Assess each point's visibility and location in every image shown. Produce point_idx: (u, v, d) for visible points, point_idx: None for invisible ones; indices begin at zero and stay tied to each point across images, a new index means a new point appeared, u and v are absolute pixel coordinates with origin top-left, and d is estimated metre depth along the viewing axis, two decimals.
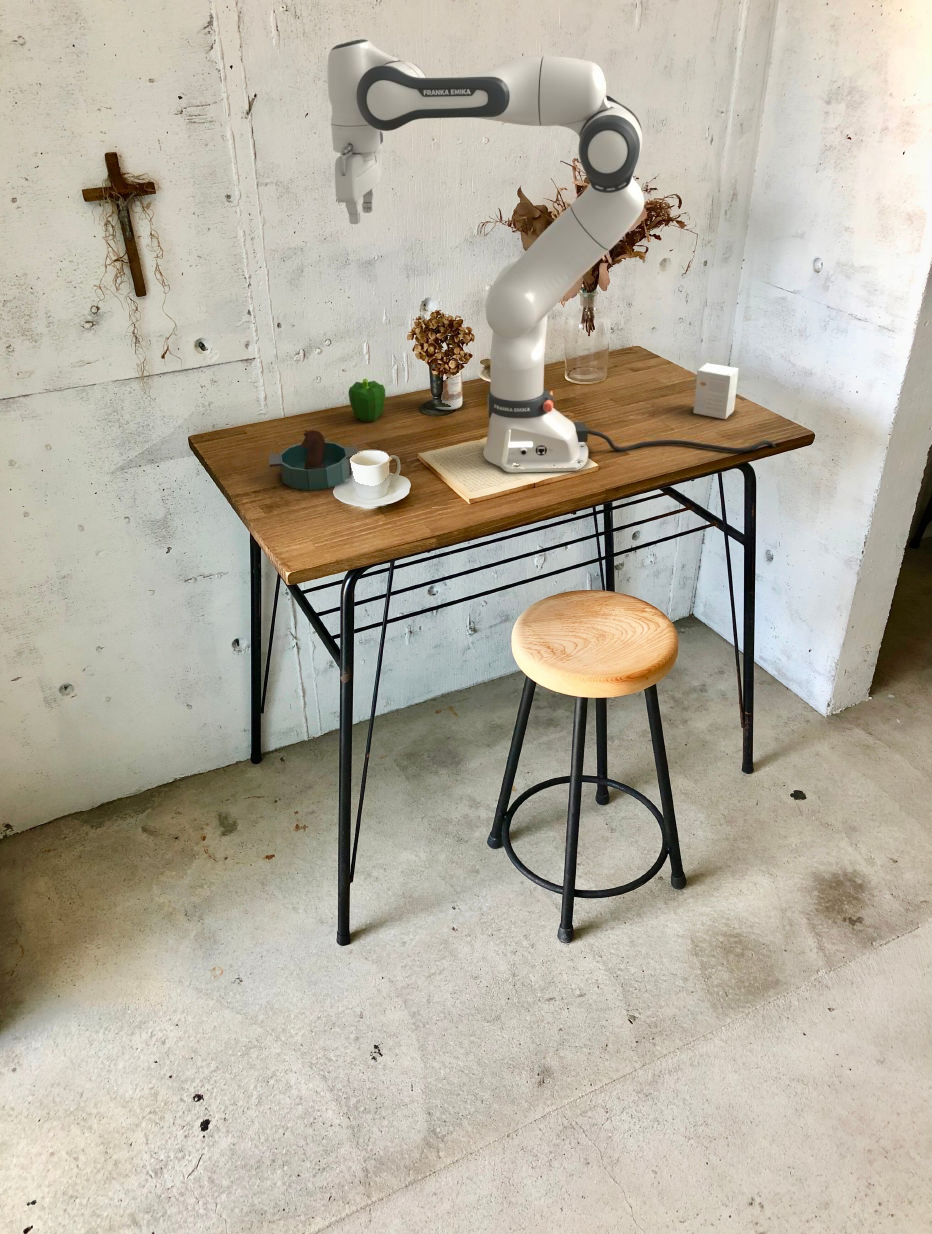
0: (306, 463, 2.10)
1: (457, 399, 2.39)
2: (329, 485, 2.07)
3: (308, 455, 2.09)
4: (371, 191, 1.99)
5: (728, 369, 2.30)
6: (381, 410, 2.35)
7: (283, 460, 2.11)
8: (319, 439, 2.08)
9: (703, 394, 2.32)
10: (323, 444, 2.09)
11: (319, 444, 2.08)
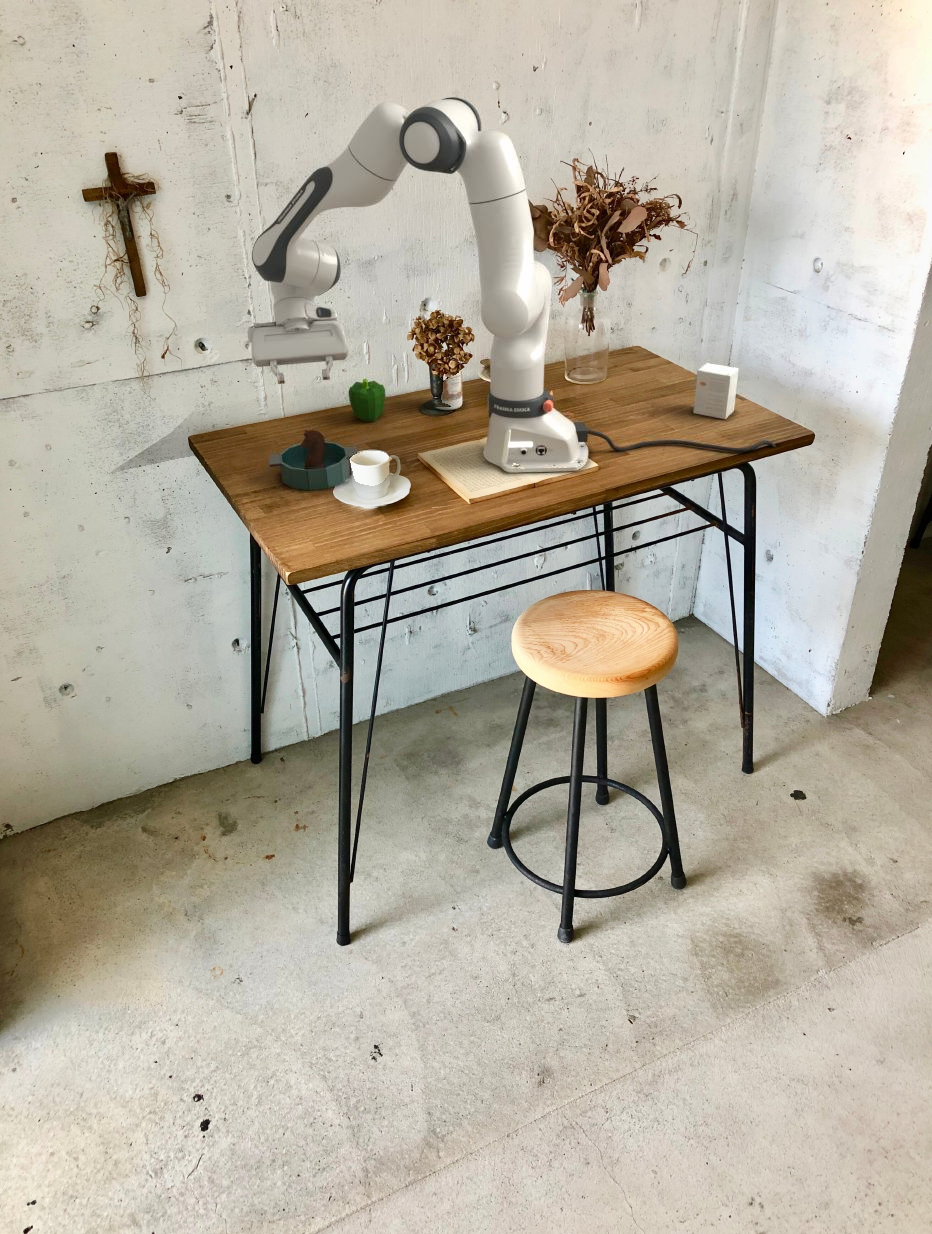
0: (306, 463, 2.10)
1: (457, 399, 2.39)
2: (329, 485, 2.07)
3: (308, 455, 2.09)
4: (326, 360, 2.14)
5: (728, 369, 2.30)
6: (381, 410, 2.35)
7: (283, 460, 2.11)
8: (319, 439, 2.08)
9: (703, 394, 2.32)
10: (323, 444, 2.09)
11: (319, 444, 2.08)
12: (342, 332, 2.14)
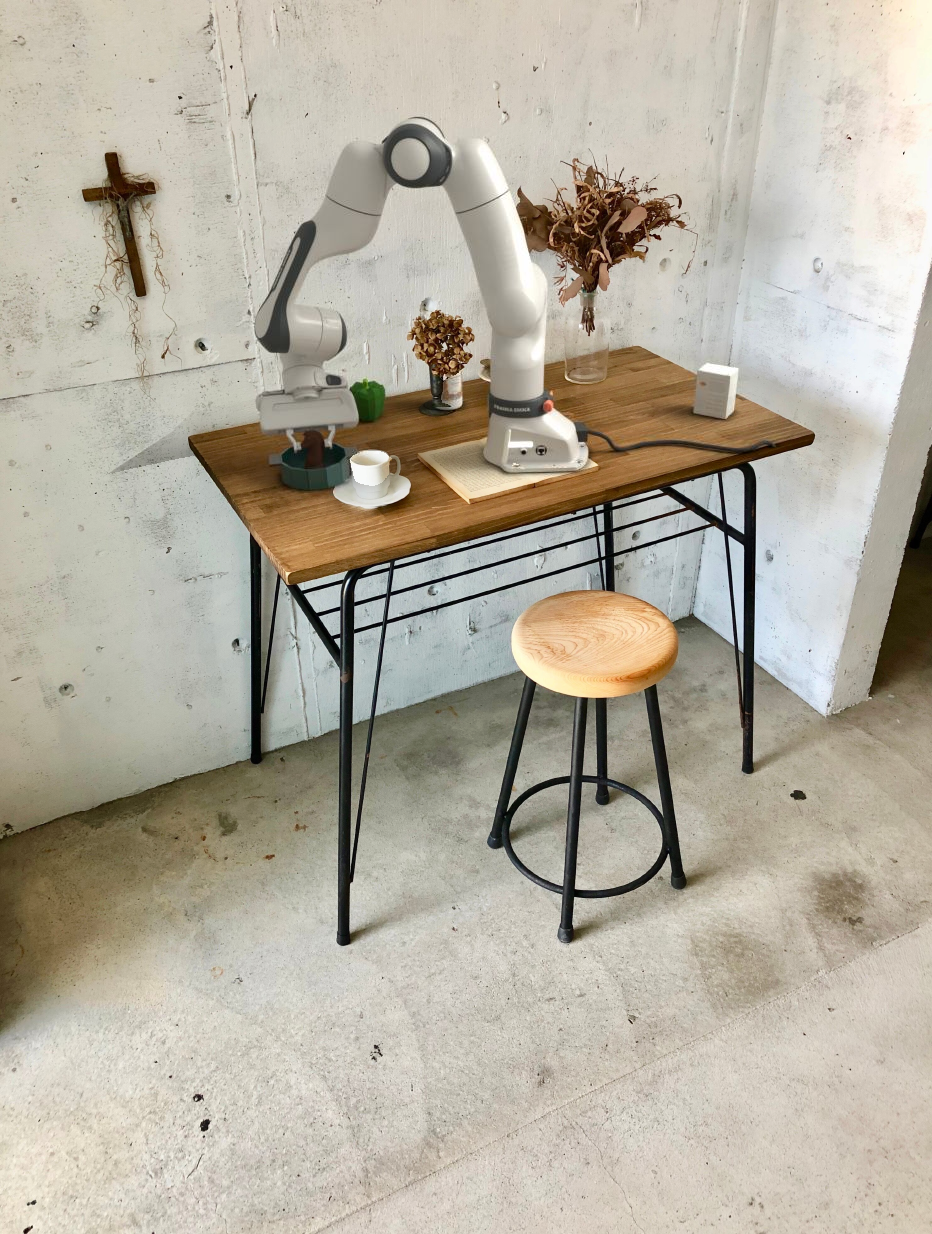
0: (306, 463, 2.10)
1: (457, 399, 2.39)
2: (329, 485, 2.07)
3: (308, 455, 2.09)
4: (328, 429, 2.09)
5: (728, 369, 2.30)
6: (381, 410, 2.35)
7: (283, 460, 2.11)
8: (319, 439, 2.08)
9: (703, 394, 2.32)
10: (323, 444, 2.09)
11: (319, 444, 2.08)
12: (352, 400, 2.09)
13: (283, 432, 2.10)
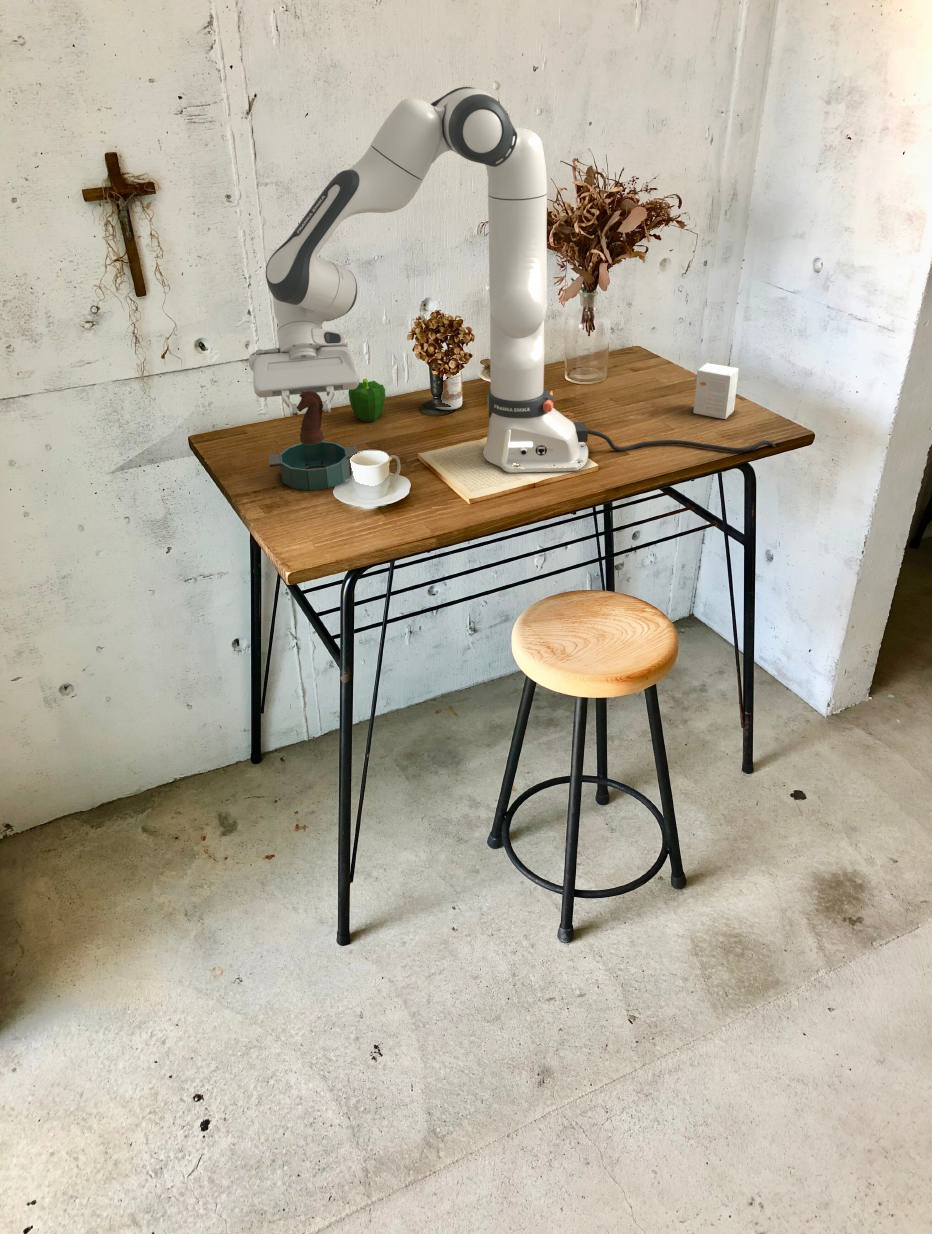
0: (303, 427, 1.95)
1: (457, 399, 2.39)
2: (329, 485, 2.07)
3: (305, 418, 1.95)
4: (327, 390, 1.95)
5: (728, 369, 2.30)
6: (381, 410, 2.35)
7: (283, 460, 2.11)
8: (316, 401, 1.94)
9: (703, 394, 2.32)
10: (321, 406, 1.95)
11: (316, 406, 1.94)
12: (353, 359, 1.95)
13: (278, 394, 1.95)
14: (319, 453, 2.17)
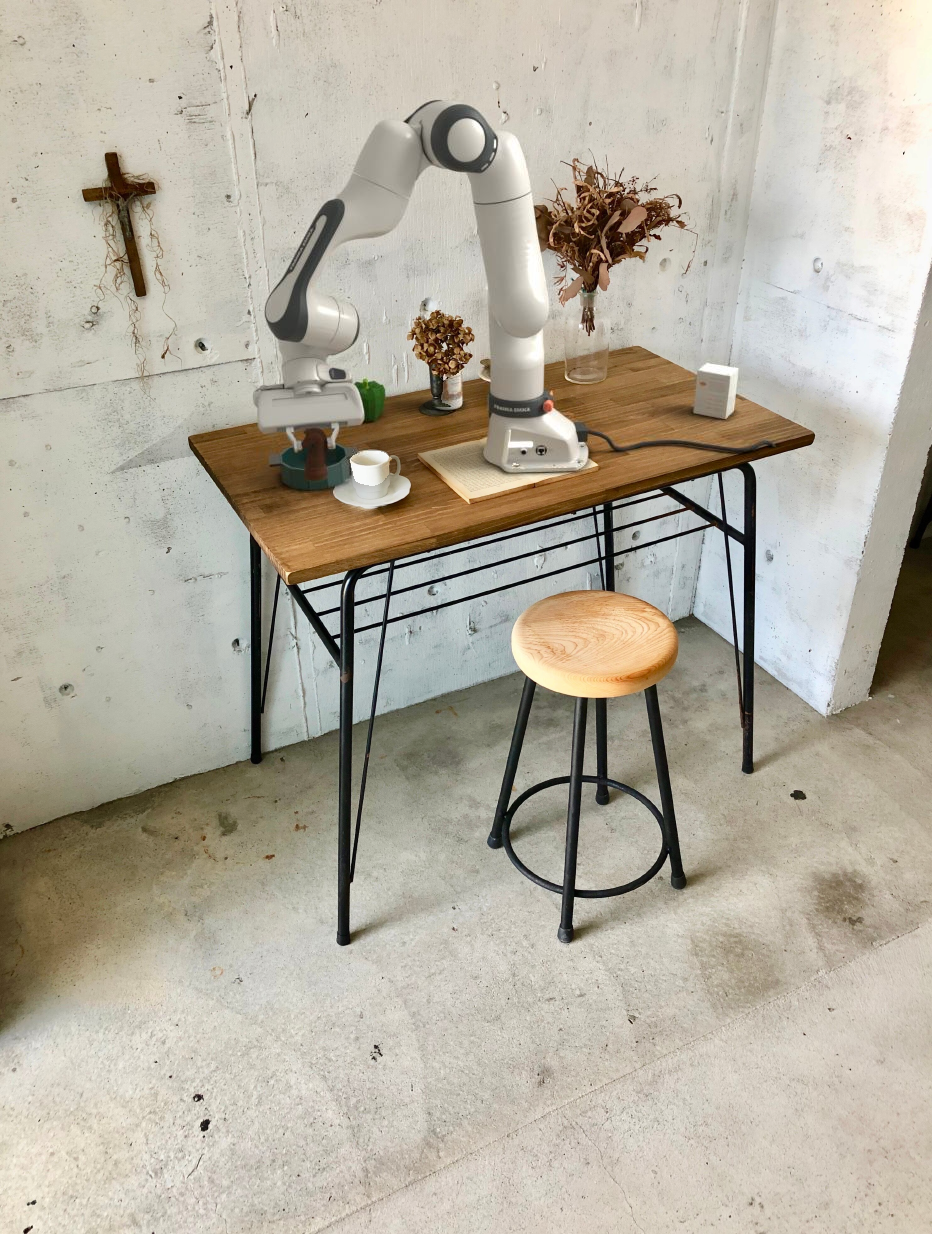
0: (307, 463, 1.94)
1: (457, 399, 2.39)
2: (329, 485, 2.07)
3: (309, 455, 1.93)
4: (331, 427, 1.93)
5: (728, 369, 2.30)
6: (381, 410, 2.35)
7: (283, 460, 2.11)
8: (321, 437, 1.92)
9: (703, 394, 2.32)
10: (325, 443, 1.93)
11: (321, 443, 1.92)
12: (358, 395, 1.94)
13: (282, 430, 1.94)
14: None
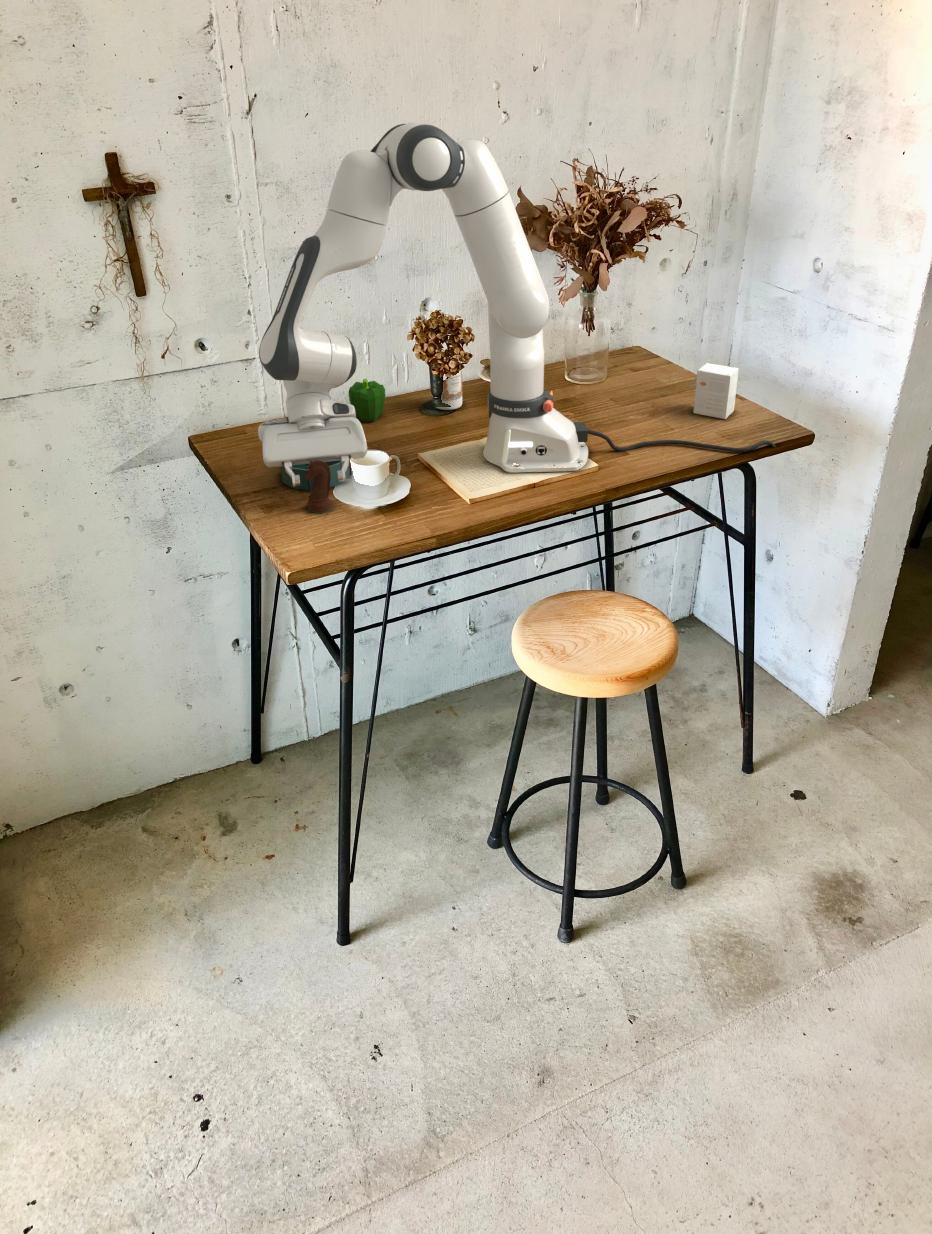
0: (311, 495, 1.97)
1: (457, 399, 2.39)
2: None
3: (313, 487, 1.97)
4: (341, 460, 1.97)
5: (728, 369, 2.30)
6: (381, 410, 2.35)
7: None
8: (325, 470, 1.96)
9: (703, 394, 2.32)
10: (329, 475, 1.97)
11: (325, 475, 1.96)
12: (361, 429, 1.97)
13: None
14: None
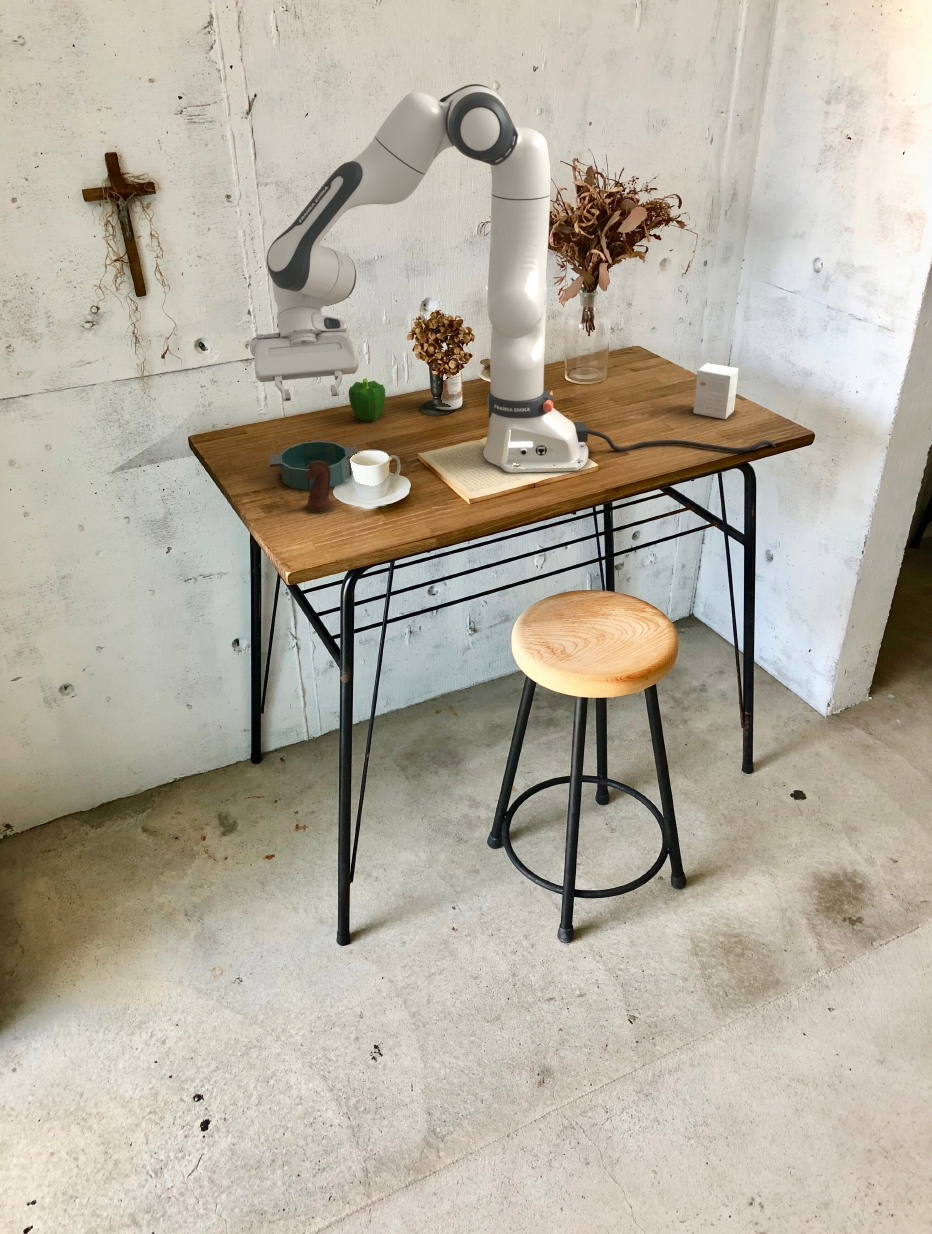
0: (311, 495, 1.97)
1: (457, 399, 2.39)
2: None
3: (313, 487, 1.97)
4: (335, 375, 1.99)
5: (728, 369, 2.30)
6: (381, 410, 2.35)
7: (283, 460, 2.11)
8: (325, 470, 1.96)
9: (703, 394, 2.32)
10: (329, 475, 1.97)
11: (325, 475, 1.96)
12: (352, 344, 1.99)
13: None
14: (319, 453, 2.17)
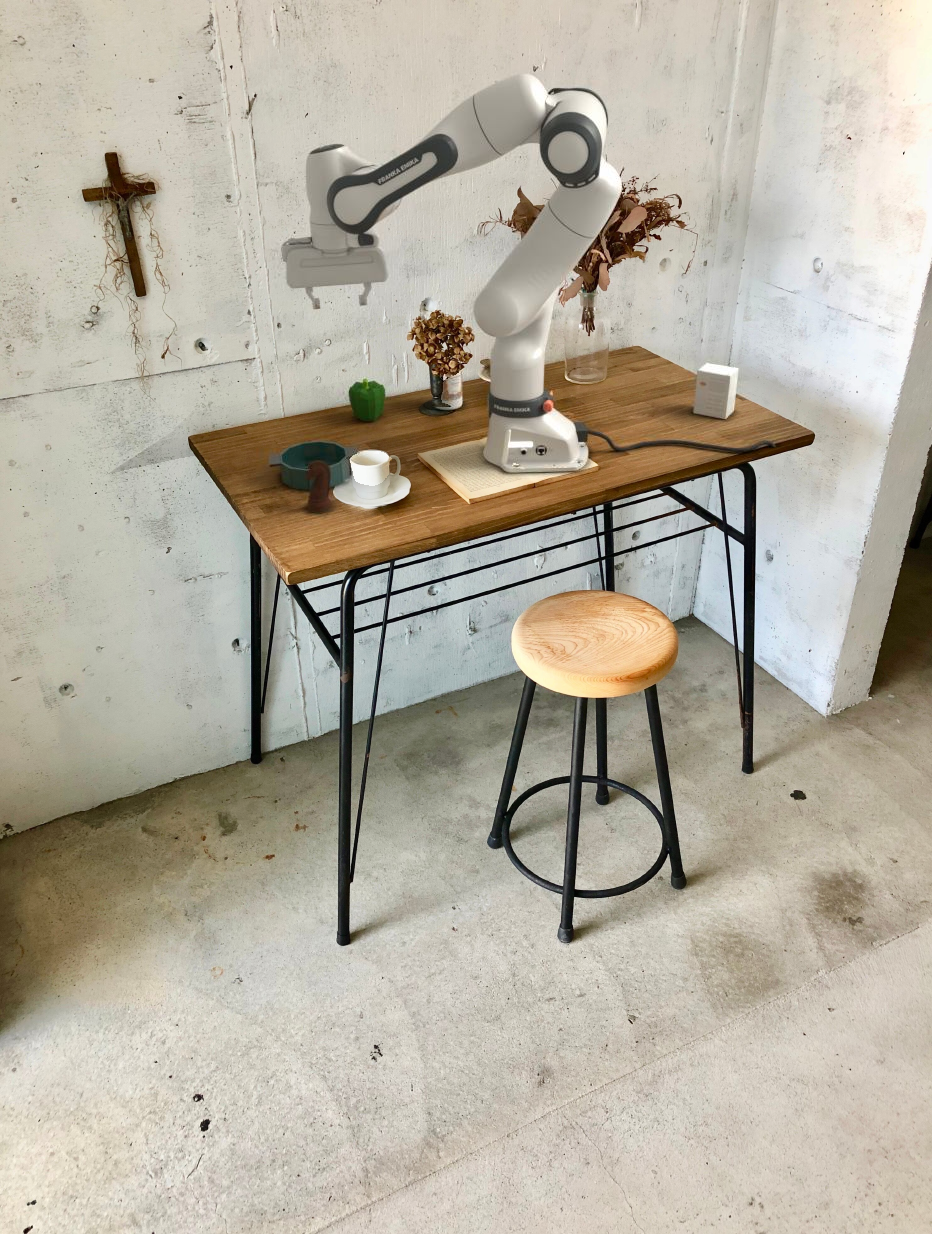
0: (311, 495, 1.97)
1: (457, 399, 2.39)
2: None
3: (313, 487, 1.97)
4: (364, 286, 2.04)
5: (728, 369, 2.30)
6: (381, 410, 2.35)
7: (283, 460, 2.11)
8: (325, 470, 1.96)
9: (703, 394, 2.32)
10: (329, 475, 1.97)
11: (324, 475, 1.96)
12: (384, 260, 2.00)
13: None
14: (319, 453, 2.17)
